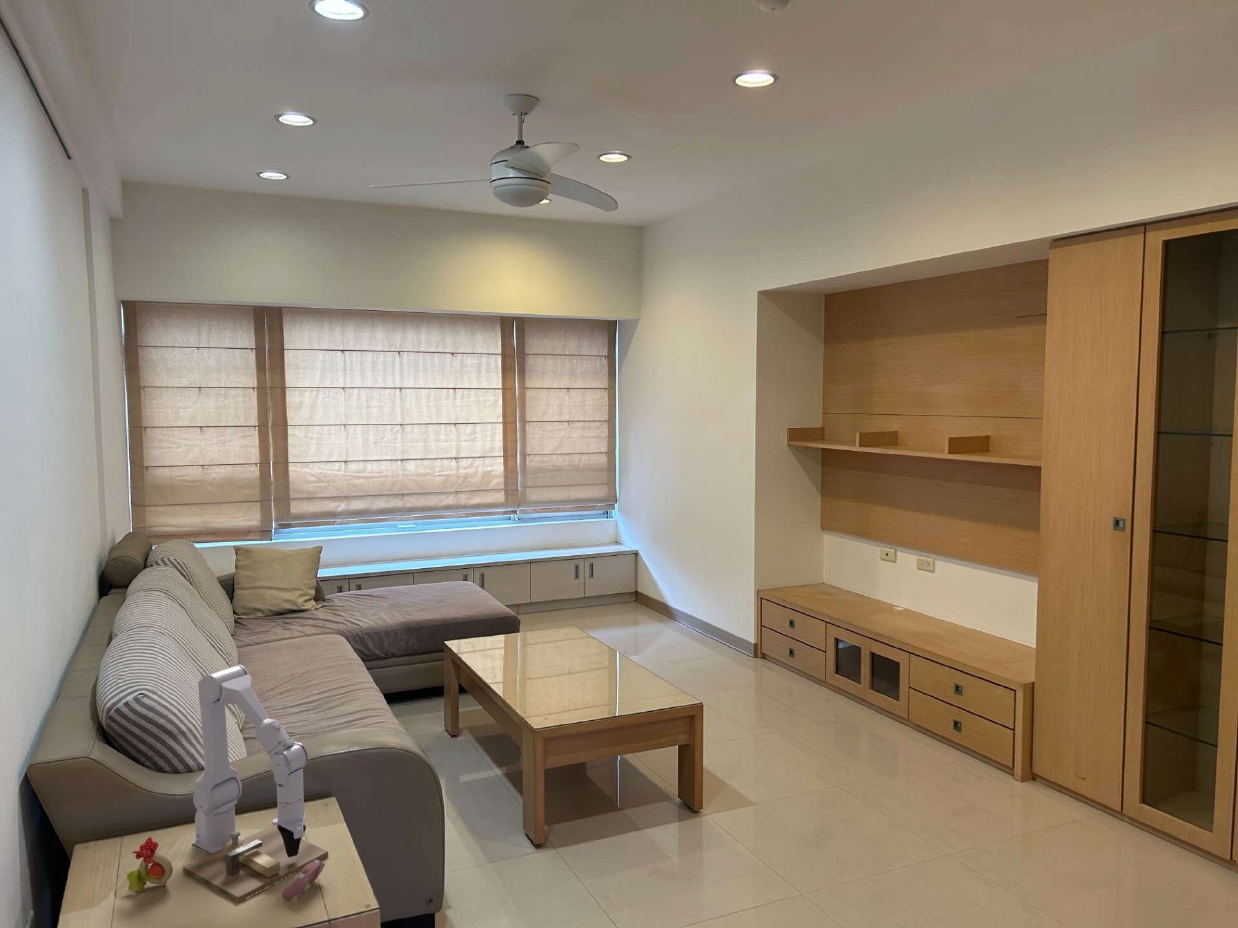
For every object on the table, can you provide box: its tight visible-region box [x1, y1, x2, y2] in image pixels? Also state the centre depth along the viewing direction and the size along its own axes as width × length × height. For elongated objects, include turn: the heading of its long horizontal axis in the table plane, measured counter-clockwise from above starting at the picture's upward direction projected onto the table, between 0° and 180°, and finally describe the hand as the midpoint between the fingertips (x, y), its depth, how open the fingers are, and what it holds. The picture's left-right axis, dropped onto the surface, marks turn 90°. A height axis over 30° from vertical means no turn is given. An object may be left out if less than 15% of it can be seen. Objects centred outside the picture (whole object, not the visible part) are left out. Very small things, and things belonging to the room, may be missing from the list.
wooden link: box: [226, 830, 280, 877], centre depth 202 cm, size 18×4×5 cm, turn 53°
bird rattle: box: [126, 836, 174, 893], centre depth 195 cm, size 6×11×9 cm
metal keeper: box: [226, 839, 262, 876], centre depth 201 cm, size 2×8×5 cm, turn 145°
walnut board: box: [182, 825, 329, 903], centre depth 205 cm, size 22×23×1 cm
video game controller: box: [281, 859, 326, 901], centre depth 194 cm, size 10×5×7 cm, turn 170°
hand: (292, 854), depth 203 cm, fingers closed
